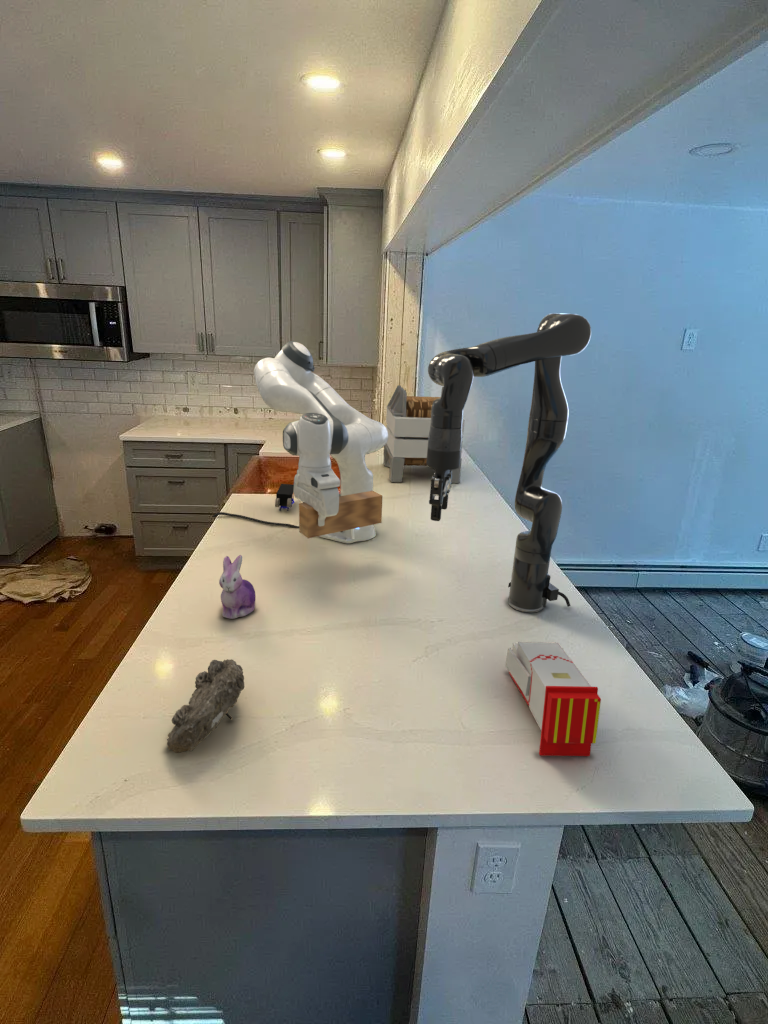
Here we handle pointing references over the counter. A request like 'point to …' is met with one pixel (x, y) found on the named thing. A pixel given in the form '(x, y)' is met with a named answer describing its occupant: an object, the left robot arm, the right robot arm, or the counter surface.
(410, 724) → the counter surface
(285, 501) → the figurine character
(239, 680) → the fossil
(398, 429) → the grey crate
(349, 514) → the bar
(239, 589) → the figurine
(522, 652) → the toy
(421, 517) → the counter surface
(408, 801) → the counter surface
